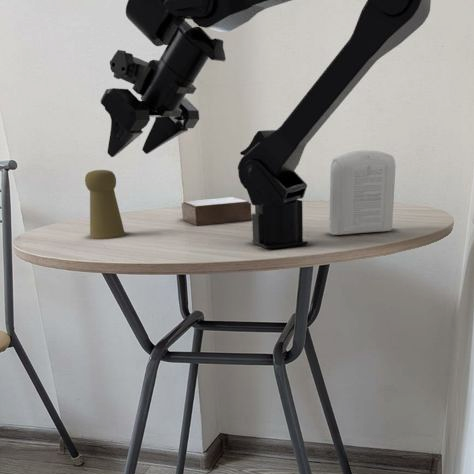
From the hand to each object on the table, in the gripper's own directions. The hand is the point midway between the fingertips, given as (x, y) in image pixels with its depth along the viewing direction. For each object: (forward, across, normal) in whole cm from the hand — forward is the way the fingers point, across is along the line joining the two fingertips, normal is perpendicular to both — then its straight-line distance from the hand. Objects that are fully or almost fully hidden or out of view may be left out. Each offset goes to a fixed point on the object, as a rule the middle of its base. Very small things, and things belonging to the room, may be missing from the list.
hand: (128, 153), depth 93 cm
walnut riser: (+8, -22, +12) cm, 26 cm away
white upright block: (-14, -12, +35) cm, 39 cm away
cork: (+15, -2, +4) cm, 16 cm away
